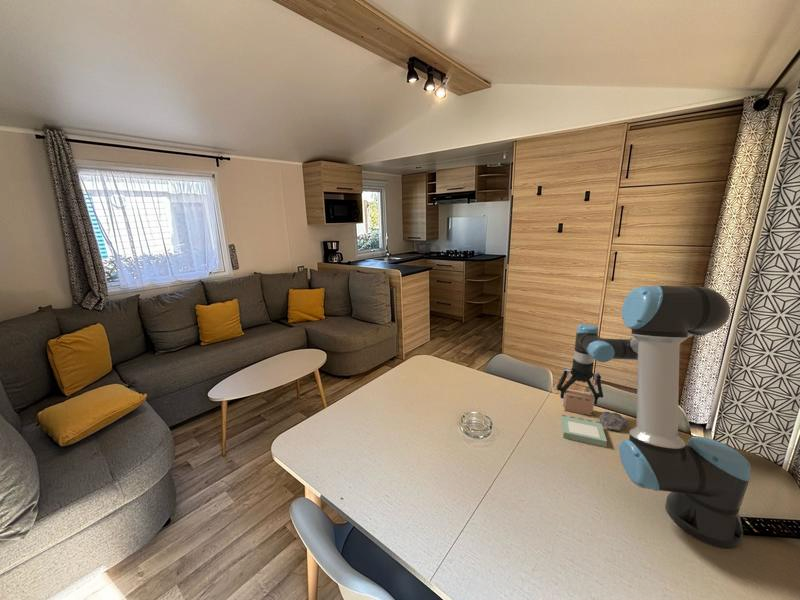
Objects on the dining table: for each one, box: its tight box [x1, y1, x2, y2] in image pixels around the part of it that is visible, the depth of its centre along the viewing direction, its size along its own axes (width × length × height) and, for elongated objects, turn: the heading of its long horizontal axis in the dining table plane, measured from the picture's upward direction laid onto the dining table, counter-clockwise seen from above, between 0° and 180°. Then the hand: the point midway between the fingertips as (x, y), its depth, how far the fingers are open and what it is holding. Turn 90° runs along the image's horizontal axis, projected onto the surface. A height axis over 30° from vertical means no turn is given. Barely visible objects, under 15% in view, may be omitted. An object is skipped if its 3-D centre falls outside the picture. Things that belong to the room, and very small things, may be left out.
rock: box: [598, 411, 629, 432], centre depth 126 cm, size 9×11×4 cm
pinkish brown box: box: [563, 388, 593, 416], centre depth 135 cm, size 5×10×8 cm, turn 67°
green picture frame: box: [560, 414, 608, 448], centre depth 121 cm, size 12×14×3 cm
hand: (577, 407), depth 136 cm, fingers closed on pinkish brown box, 10 cm apart
